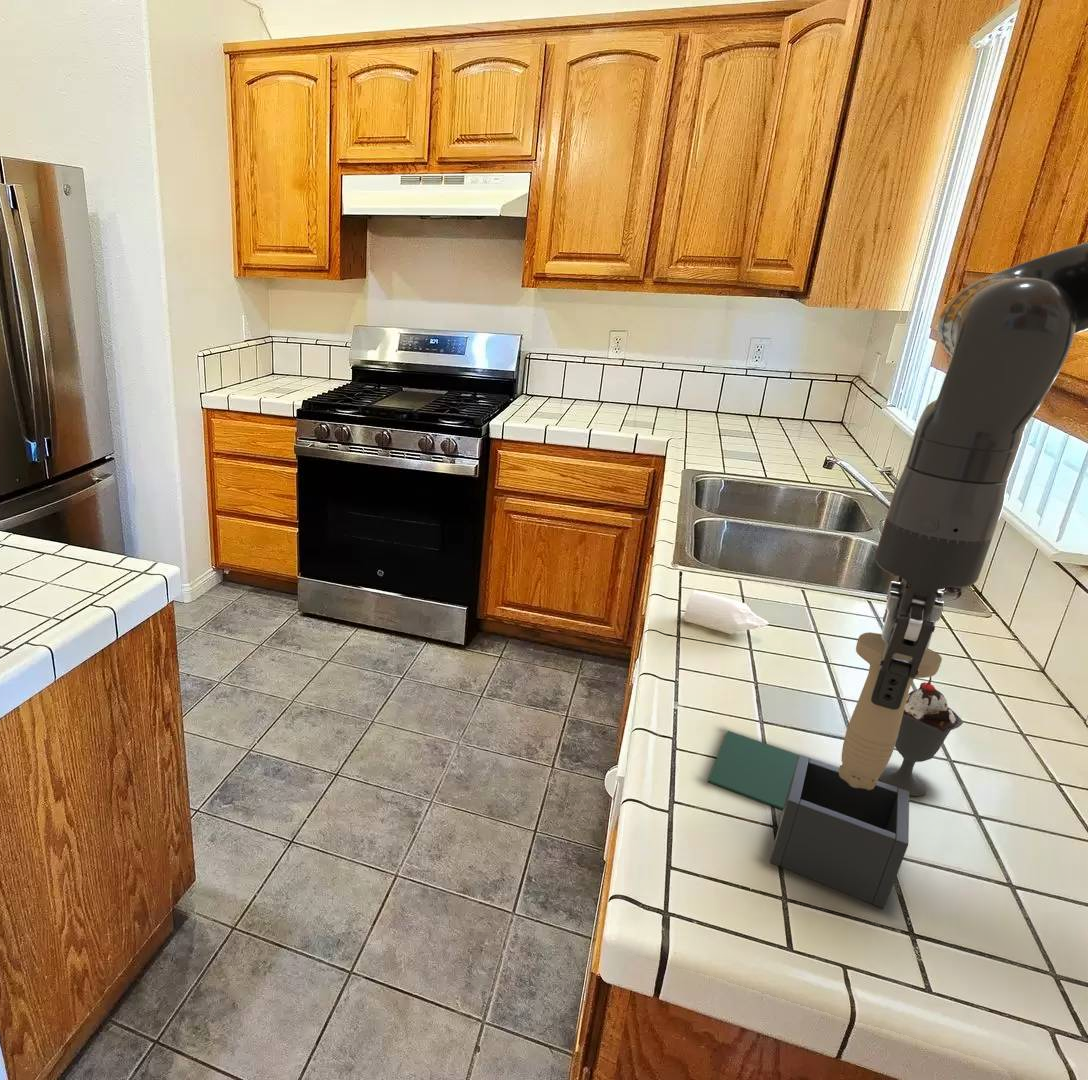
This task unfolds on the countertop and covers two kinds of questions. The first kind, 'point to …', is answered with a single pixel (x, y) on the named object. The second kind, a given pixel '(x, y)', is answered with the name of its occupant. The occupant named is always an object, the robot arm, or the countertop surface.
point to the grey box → (842, 832)
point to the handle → (875, 718)
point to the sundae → (920, 735)
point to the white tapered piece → (720, 613)
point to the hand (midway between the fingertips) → (885, 690)
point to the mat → (754, 769)
